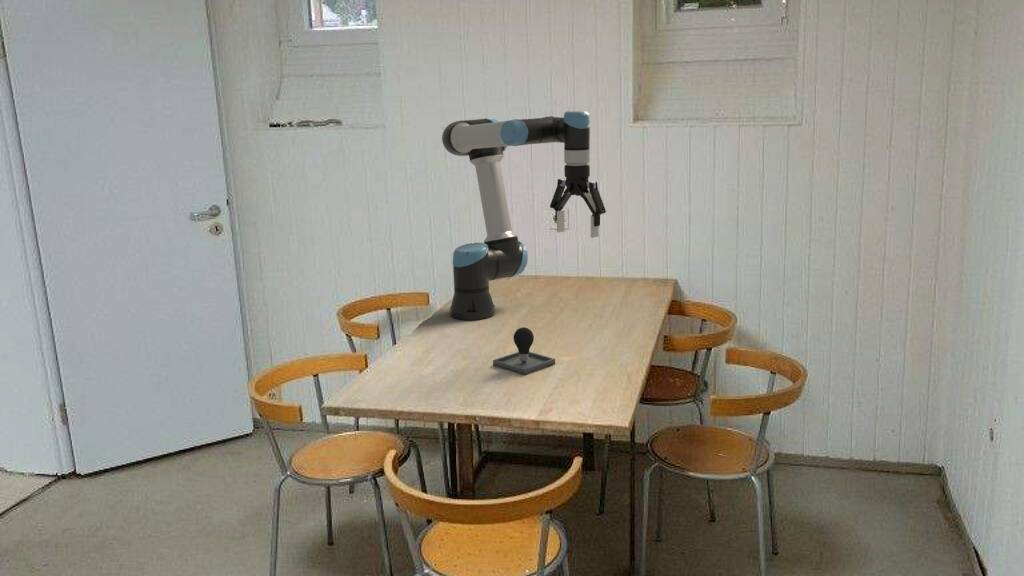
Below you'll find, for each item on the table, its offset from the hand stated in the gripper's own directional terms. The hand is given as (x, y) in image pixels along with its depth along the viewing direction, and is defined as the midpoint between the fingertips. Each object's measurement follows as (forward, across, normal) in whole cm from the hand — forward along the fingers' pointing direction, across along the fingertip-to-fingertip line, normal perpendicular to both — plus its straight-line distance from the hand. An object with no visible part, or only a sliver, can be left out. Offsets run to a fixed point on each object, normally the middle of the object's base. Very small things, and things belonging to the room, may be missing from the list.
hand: (577, 234), depth 275 cm
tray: (+31, -10, +34) cm, 47 cm away
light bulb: (+30, -10, +34) cm, 46 cm away
